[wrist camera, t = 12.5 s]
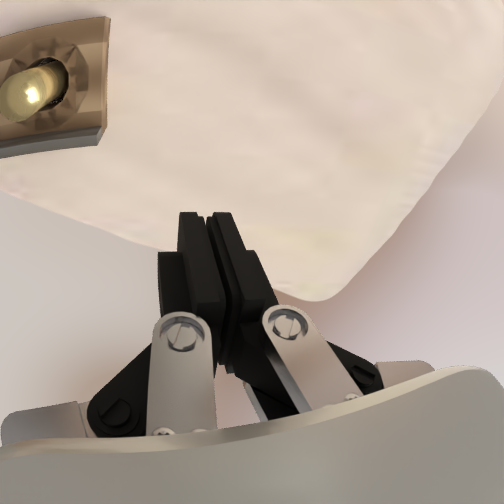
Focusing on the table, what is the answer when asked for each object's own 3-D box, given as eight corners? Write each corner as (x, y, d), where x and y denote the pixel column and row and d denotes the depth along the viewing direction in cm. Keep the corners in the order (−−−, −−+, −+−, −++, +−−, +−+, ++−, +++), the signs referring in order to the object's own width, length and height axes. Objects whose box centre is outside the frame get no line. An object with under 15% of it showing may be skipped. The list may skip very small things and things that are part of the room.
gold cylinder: (37, 64, 22) (-4, 78, 15) (72, 58, 23) (39, 68, 16) (38, 99, 25) (0, 125, 17) (71, 94, 26) (41, 117, 18)
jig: (7, 38, 19) (-22, 42, 14) (110, 18, 22) (99, 14, 17) (11, 138, 26) (-12, 161, 21) (107, 125, 29) (97, 145, 25)
